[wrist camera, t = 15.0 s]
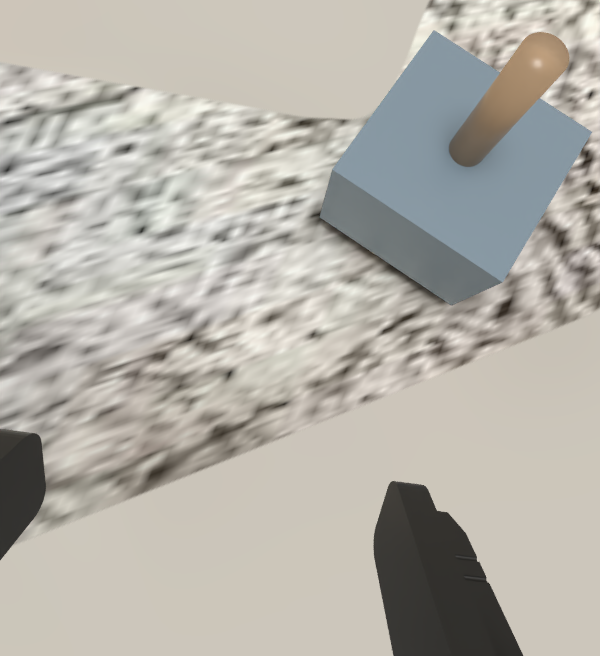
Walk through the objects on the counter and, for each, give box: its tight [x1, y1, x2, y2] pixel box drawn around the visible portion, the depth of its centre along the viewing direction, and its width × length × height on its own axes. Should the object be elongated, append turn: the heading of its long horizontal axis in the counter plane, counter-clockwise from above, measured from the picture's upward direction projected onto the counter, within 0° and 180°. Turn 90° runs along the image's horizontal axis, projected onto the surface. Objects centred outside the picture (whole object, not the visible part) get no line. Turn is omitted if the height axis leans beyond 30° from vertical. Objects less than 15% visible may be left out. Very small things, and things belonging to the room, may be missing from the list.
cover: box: [320, 31, 592, 305], centre depth 27 cm, size 14×14×16 cm
